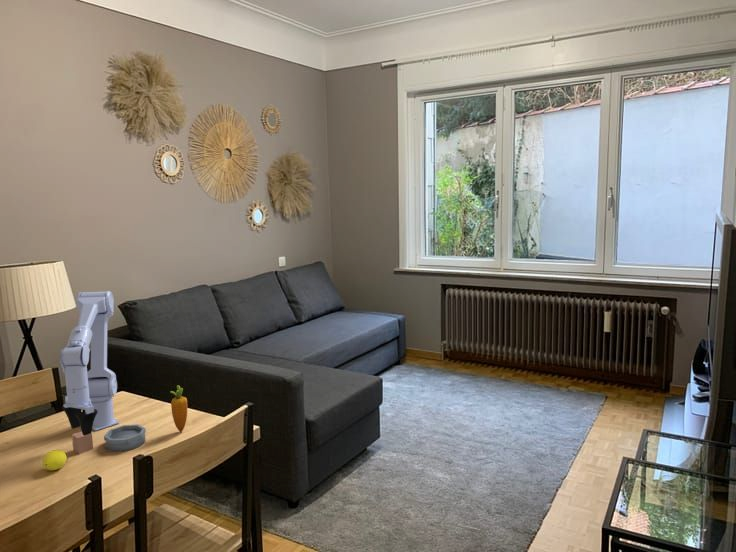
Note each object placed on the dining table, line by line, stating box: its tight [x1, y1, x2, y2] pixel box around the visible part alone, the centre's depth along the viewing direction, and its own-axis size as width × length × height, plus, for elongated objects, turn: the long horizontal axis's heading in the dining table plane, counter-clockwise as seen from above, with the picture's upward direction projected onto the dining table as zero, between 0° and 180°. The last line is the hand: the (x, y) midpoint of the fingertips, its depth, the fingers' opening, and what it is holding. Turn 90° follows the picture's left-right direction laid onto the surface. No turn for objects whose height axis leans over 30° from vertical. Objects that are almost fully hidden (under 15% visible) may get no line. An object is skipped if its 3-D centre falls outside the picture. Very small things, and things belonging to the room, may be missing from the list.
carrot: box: [169, 385, 188, 433], centre depth 172 cm, size 5×5×15 cm
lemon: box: [42, 449, 67, 471], centre depth 150 cm, size 7×5×5 cm
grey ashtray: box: [103, 423, 147, 453], centre depth 166 cm, size 11×11×4 cm
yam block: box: [71, 430, 94, 455], centre depth 162 cm, size 4×4×5 cm
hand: (81, 430), depth 161 cm, fingers open, 7 cm apart
